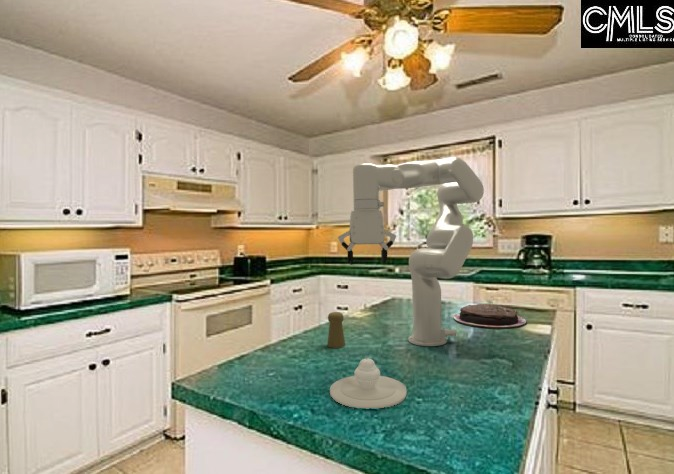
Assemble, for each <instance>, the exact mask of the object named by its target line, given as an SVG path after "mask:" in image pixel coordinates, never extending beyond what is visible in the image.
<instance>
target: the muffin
mask: <svg viewBox="0 0 674 474" xmlns="http://www.w3.org/2000/svg"><path fill="white" fill-rule="evenodd" d="M353 374H354V376H355V377H356V380H357V382H358V384H359V385H360V387H361V388H362V389H364V390H372V389H374V387H375V385H376V383H377V381H378V379H379V376H381V371H380V369H379V367H377V366H376V365H375V361H374V360H373V359H371V358H363V359H361V360H360V361H359V364H358V366H357V367H356V368H355V370H354V373H353Z"/></svg>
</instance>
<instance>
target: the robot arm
mask: <svg viewBox="0 0 674 474" xmlns="http://www.w3.org/2000/svg"><path fill="white" fill-rule="evenodd" d="M352 179H353V180H352V182H353V183H352V186H353V193H352V194H353V210H351V212H350V218H349V230H348V231H346V232H344V233H342V234H340V235H338V236H337V239H338V241H339V243H340V244H341V246H342V247H343V248H344V249H345V250H346V251H347V262H348V263H349V265H351V266H352V265H354V251H353V248H354V247H355V246H356V245H378V246H380V247H381V250H380V251H381V253H380V254H381V264H384V265H386V264H387V263H386V262H387V261H388V250H389V249H390V248H391V247H392V245H393V244H394V242H395V240H396V239H397V234H395V233H392V232H391V231H388V230H386V229H385V224H384V218H383V211H382V210H380V208H382V207H385V202H384V201H381V200H380V192H381V191H390V190H400V189H413V188H414V189H415V188H417V189H418V188H423V187H431V186H438V185H439V186H438V189H437V192H436V196H437V197H436V198H437V199H438V206H439V215H438V216H437V219H436V220H435V222H434V223H433V225H432V227H431V229H430V231H429V232H428V234H427V236H426V239H425V241H426V244H425V245H426V246H427V247H423V248H422V247H421V248H418V249H414V250H413V251H412V252H411V254H410V255H409V257H408V268H409V272H410V277H411V285H412V286H411V287H412V291H411V293H412V334H411V335H410V336H408V341H409V342H410V343H411V344H413V345H416V346H422V347H437V346H443V345H445V344H446V343H447V337H452V336H453V337H456V336H457V331H456V330H455V329H448V328H447V329H444V328H443V326H442V324H443V323H442V321H443V320H442V289H441V285H440V282H439V280H438V279H453V278H454V277H456V276H457V275H458V273H460V271H461V269H462V267H463V265H464V263H465V262H466V260H467V258H468V256H469V254H470V252H471V250H472V248H473V243H474V233H473V232H472V231H473V230H472V229H471V228H470V227H469V226H467V225H465V224H463V221H464V219H463V215H462V212H461V211H460V209H459V206H458V205H461V204H472V203H473V204H474V203H477V202H479V201H480V200H481V199H482V198H483V196H484V193H485V190H484V185H483V183H482V181H481V179H480V177H478V176H477V174H476V173H475V171H474V170H473V169H472V167H470V165H469V164H468V163H467V162H465V161H464V160H463V159H462V158H460V157H457V156H452V157H446V158H440V159H432V160H421V161H418V160H417V161H409V162H405V163H400V164H397V165H394V164H374V163H359V164H356V165H354V167H353V169H352ZM385 236H387V237H389V240H388V242H387V243H385ZM347 237H349V242H350V243H349V244H347V242H345V238H347Z"/></svg>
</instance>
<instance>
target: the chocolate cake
mask: <svg viewBox="0 0 674 474" xmlns="http://www.w3.org/2000/svg"><path fill="white" fill-rule="evenodd" d="M453 320H454V321H455V322H457V323H459V324H463V325H464V326H466V327H467V326H468V327H475V328H483V329H484V328H485V329H495V330H503V329H505V330H506V329H511V328H515V329H516V328H517V329H518V328H520V327H521V326H524V325H525V324H527V320H526V319H525V318H524V317H522V316H519V315H518V313H517V309H516V310H515V309H512V308H509V307H508V308H506V307H504V306H501V305H497V304H489V303H488V304H483V303H481V304H480V303H479V304H468V305H466V306H463V307H461V308H460V309H459V313H456V314H454V315H453Z"/></svg>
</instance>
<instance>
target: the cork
mask: <svg viewBox="0 0 674 474" xmlns="http://www.w3.org/2000/svg"><path fill="white" fill-rule="evenodd" d="M327 321H328V322H329V325H328V326H329V328H328V334H327V335H328V336H327V343H326V344H327V345H326V346H327V347H328V348H331V349H339V348H344V347H345V346H346V340H345V334H344V329H343V321H344V314H343V313H342V312H340V311H332V312H330V313H329V314H328V316H327Z"/></svg>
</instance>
